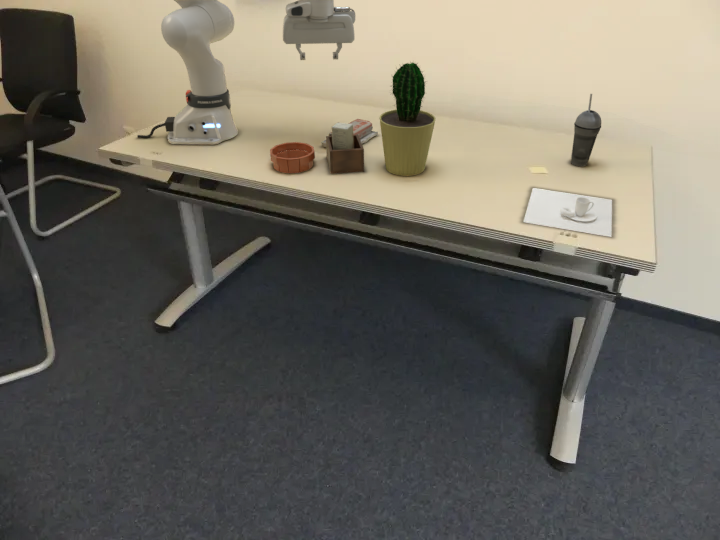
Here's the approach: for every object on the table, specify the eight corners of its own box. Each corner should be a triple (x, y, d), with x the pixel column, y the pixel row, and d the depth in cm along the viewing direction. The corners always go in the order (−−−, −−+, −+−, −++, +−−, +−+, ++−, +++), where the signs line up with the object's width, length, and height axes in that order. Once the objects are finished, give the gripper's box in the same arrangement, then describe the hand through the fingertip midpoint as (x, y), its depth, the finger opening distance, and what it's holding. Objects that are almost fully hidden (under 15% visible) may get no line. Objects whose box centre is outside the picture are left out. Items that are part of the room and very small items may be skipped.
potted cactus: (423, 155, 169) (430, 51, 152) (438, 176, 156) (447, 66, 139) (374, 159, 167) (375, 54, 150) (384, 181, 154) (387, 69, 137)
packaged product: (352, 115, 184) (378, 121, 180) (353, 129, 187) (378, 135, 183) (320, 132, 172) (346, 138, 168) (321, 146, 175) (347, 153, 170)
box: (354, 160, 164) (354, 124, 158) (348, 166, 161) (348, 129, 154) (338, 157, 166) (337, 121, 159) (332, 163, 162) (331, 126, 156)
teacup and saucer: (558, 219, 136) (561, 204, 133) (560, 204, 142) (563, 190, 140) (596, 225, 133) (600, 210, 131) (597, 210, 139) (601, 196, 137)
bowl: (271, 175, 157) (270, 160, 155) (271, 158, 168) (269, 143, 165) (316, 172, 159) (315, 157, 156) (313, 155, 169) (312, 140, 167)
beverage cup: (579, 170, 159) (595, 100, 148) (560, 161, 165) (574, 93, 153) (597, 165, 162) (614, 96, 151) (578, 156, 167) (594, 89, 156)
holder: (330, 173, 158) (329, 151, 154) (326, 157, 168) (325, 136, 164) (364, 171, 159) (364, 149, 156) (358, 155, 169) (358, 134, 165)
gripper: (354, 4, 157) (353, 55, 164) (280, 5, 154) (283, 57, 162) (356, 8, 151) (356, 61, 159) (281, 9, 149) (284, 63, 157)
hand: (319, 59), depth 161 cm, fingers open, 8 cm apart
